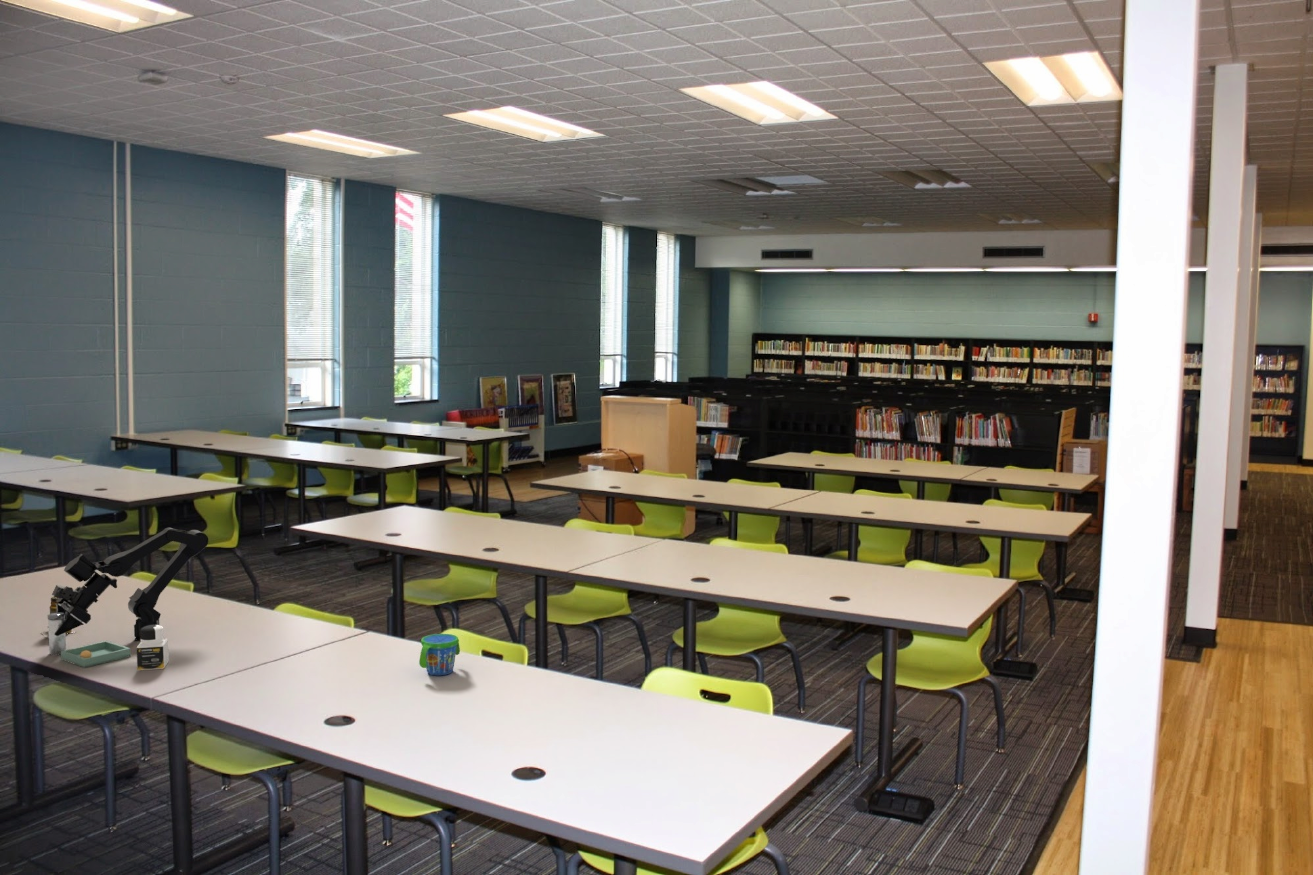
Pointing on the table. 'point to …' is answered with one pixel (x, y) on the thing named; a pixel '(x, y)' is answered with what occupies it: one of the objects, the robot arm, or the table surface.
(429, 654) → the snack cup
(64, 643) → the cylinder
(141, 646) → the medicine bottle
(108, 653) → the tray
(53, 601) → the condiment
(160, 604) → the table surface
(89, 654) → the ball
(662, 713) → the table surface
